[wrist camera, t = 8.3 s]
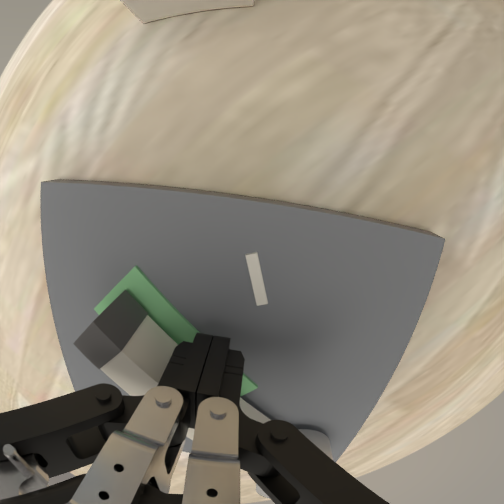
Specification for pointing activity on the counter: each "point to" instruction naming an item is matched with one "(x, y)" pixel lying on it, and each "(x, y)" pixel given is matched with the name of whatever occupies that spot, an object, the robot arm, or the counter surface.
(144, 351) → the tuning lever
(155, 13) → the milk
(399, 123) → the counter surface
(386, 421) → the counter surface
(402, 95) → the counter surface
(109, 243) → the board
